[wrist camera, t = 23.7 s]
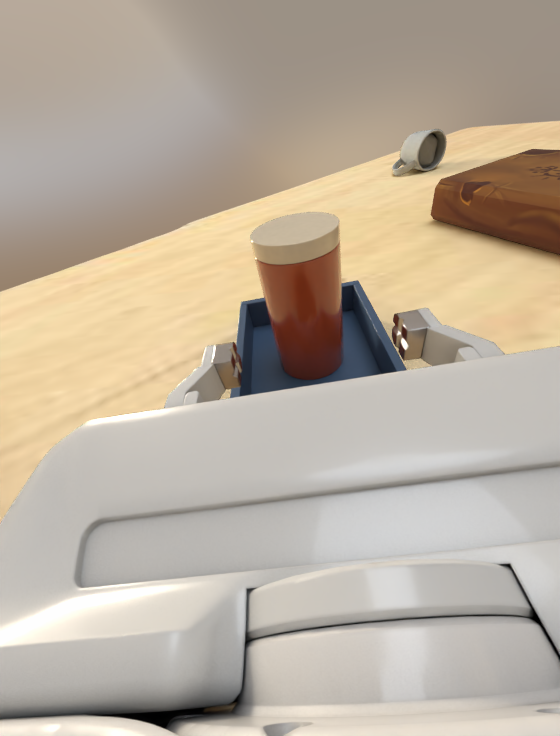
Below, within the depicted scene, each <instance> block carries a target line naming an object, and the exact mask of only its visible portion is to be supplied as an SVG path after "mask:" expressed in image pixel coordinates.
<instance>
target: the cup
mask: <svg viewBox="0 0 560 736" xmlns="http://www.w3.org/2000/svg"><path fill="white" fill-rule="evenodd" d="M250 240H251V244H252V248H253V253H254V256H255V261H256V265H257V269H258V273H259V278H260V282H261V286H262V290H263V294H264V298H265V302H266V307H267V311H268V315H269V319H270V323H271V327H272V332H273V336H274V340H275V344H276V348H277V352H278V356H279V361H280V365H281V367H282V369H283V370H284V371H285V372H286V373H287V374H288V375H290V376H292V377H294V378H297V379H302V380H315V379H320V378H323V377H326V376H328V375H330V374H332V373H333V372H335V371H336V370H337V369H338V368H339V367H340V366H341V364H342V362H343V359H344V342H343V313H342V283H341V253H340V224H339V219H338V218H337V217H336V216H335V215H332V214H329V213H323V212H306V213H298V214H292V215H287V216H283V217H280V218H277V219H274V220H271V221H269V222H266V223H264V224H262V225H261V226H259V227H257V228H256V229H255V230H254V231H253V232H252V233H251V235H250Z"/></svg>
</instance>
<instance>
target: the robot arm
mask: <svg viewBox="0 0 560 736" xmlns="http://www.w3.org/2000/svg"><path fill="white" fill-rule="evenodd" d="M393 322H394V323H395V326H394V327H393V328H392V338H393V342H394V344H395V346H396V347H398V348H399V353H400V355H401V357H402V359H403V360H411V359H419V358H421V359H422V360H424V361H425V362H427V363H429V364H430V365H432V366H430V367H424V368H418V369H411V370H405V371H399V372H392V373H386V374H380V375H373V376H367V377H361V378H354V379H348V380H342V381H335V382H329V383H323V384H316V385H310V386H304V387H297V388H291V389H285V390H278V391H272V392H266V393H259V394H253V395H247V396H240V397H234V398H228V399H221V400H219V399H220V398H221V396H222V395H223V393H224V392H225V391H226V389H231V388H237V387H241V380H242V377H241V372H242V361H241V357H240V355H239V354H238V353H237V346H236V344H235V343H234V342H230V343H224V344H217V345H211V346H207V347H205V351H204V355H203V359H202V363H201V366H200V367H198V368H196V369H195V370H194V371H193V372H192V373H191V374H190V375H189V376H188V377H187V378H186V379H185V380H184V381H183V382H181V383H180V384H179V385H178V386H177V387H176V388H175V389H174V390H173V391H172V392H171V393H170V394H169V395H168V397H167V400H166V403H165V407H164V409H158V410H152V411H145V412H139V413H133V414H126V415H120V416H114V417H107V418H99V419H94V420H90V421H87V422H85V423H84V424H82V425H81V426H79V427H78V428H76V429H75V430H74V431H72V432H71V433H70V434H68V435H67V436H66V437H64V438H63V439H62V440H61V441H59V442H58V443H57V444H55V445H54V446H53V447H52V448H51V449H50V450H49V451H48V452H47V454H46V455H45V456H44V458H43V459H42V460H41V462H40V463H39V464H38V466H37V467H36V469H35V470H34V472H33V473H32V475H31V476H30V478H29V479H28V480H27V482H26V484H25V485H24V487H23V488H22V490H21V491H20V493H19V494H18V496H17V497H16V499H15V501H14V502H13V504H12V505H11V507H10V508H9V510H8V511H7V513H6V515H5V516H4V518H3V520H2V521H1V523H0V736H560V346H557V347H551V348H544V349H538V350H532V351H526V352H519V353H513V354H507V355H505V354H504V353H503V352H502V351H501V350H500V349H499V348H498V347H497V346H496V344H495V343H494V342H491V341H488V340H486V339H483V338H480V337H477V336H475V335H472V334H469V333H466V332H464V331H461V330H458V329H455V328H452V327H450V326H447V325H442V324H441V323H440V322H439V321H438V320H437V319H436V317H435V316H434V315H433V314H432V313H431V311H430V310H429V309H428V308H422V309H417V310H413V311H408V312H403V313H397V314H395V315H394V318H393Z"/></svg>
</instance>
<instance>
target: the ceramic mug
mask: <svg viewBox="0 0 560 736" xmlns="http://www.w3.org/2000/svg"><path fill="white" fill-rule="evenodd" d="M445 150H446V136H445V134H444V132H443V131H442V130H439V129H434V130H427V131H420V132H416V133H413V134H411V135H410V136H408V137H407V138H406V139H405V141H404V142H403V144H402V147H401V150H400V159H399V160H398V161H397V162H396V163H395V164H394V165H393V167H392V170H393V173H394V175H397V176H398V175H402V174H404V173H406V172H408V171H410V170H411V169H416V170H421V171H429V170H432V169H434V168H435V167H436V166H437V165H438V164H439V163H440V161H441V160H442V158H443V156H444V153H445ZM401 165H403V167H402V168H399V167H400V166H401ZM398 168H399V169H398Z"/></svg>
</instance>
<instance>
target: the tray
mask: <svg viewBox="0 0 560 736" xmlns="http://www.w3.org/2000/svg"><path fill="white" fill-rule="evenodd" d="M342 313H343V342H344V359H343V362H342V364H341V366H340V367H339V368H338V369H337V370H336V371H335V372H333V373H332V374H330V375H328V376H326V377H323V378H320V379H315V380H302V379H297V378H294V377H292V376H290V375H288V374H287V373H286V372H285V371H284V370H283V369H282V367H281V365H280V361H279V356H278V352H277V348H276V344H275V340H274V336H273V332H272V327H271V323H270V319H269V315H268V311H267V307H266V302H265V298H260V299H255V300H249V301H244V302H241V306H240V314H239V323H238V333H237V342H236V346H237V353H238V354H239V355H240V357H241V361H242V372H241V377H242V380H241V387H237V388H231V396H230V398H234V397H240V396H247V395H253V394H259V393H266V392H272V391H278V390H285V389H291V388H297V387H304V386H310V385H316V384H323V383H329V382H335V381H342V380H348V379H354V378H361V377H367V376H373V375H380V374H386V373H392V372H399V371H405V370H406V368H405V366H404V364H403V362H402V360H401V359H400V357H399V355H398V353H397V351H396V349H395V348H394V346H393V344H392V342H391V340H390V338H389V336H388V335H387V333H386V331H385V329H384V327H383V325H382V324H381V322H380V320H379V318H378V316H377V314H376V312H375V311H374V309H373V307H372V305H371V303H370V301H369V300H368V298H367V296H366V294H365V292H364V290H363V288H362V287H361V285H360V283H359V281H352V282H347V283H342Z"/></svg>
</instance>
